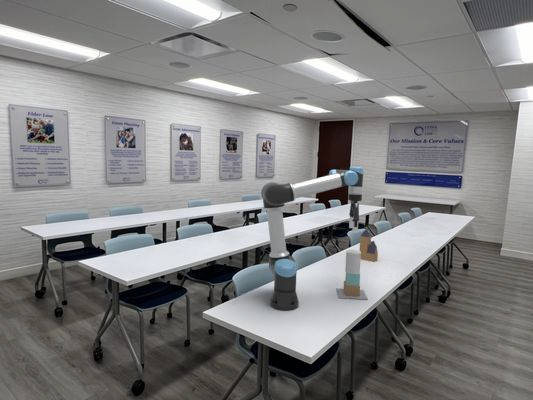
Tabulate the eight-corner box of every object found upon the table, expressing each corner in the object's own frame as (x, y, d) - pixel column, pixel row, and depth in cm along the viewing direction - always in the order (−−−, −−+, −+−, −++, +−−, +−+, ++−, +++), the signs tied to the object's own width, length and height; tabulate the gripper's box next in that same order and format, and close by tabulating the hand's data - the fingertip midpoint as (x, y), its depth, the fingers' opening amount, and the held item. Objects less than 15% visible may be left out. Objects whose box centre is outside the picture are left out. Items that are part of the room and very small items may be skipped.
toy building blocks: (359, 258, 271) (360, 228, 269) (369, 254, 285) (371, 225, 282) (373, 262, 263) (375, 230, 260) (384, 257, 277) (385, 227, 274)
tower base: (338, 298, 192) (339, 287, 191) (336, 289, 206) (336, 278, 205) (367, 300, 190) (368, 288, 189) (363, 290, 204) (363, 280, 203)
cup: (349, 268, 202) (350, 249, 201) (362, 271, 197) (363, 251, 196) (342, 271, 196) (343, 251, 194) (356, 275, 191) (357, 254, 189)
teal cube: (347, 285, 194) (347, 273, 193) (345, 281, 201) (345, 269, 200) (359, 286, 193) (360, 274, 193) (357, 281, 200) (358, 270, 199)
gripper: (365, 196, 182) (363, 235, 184) (358, 192, 207) (356, 226, 209) (351, 195, 183) (349, 234, 185) (345, 191, 207) (344, 225, 210)
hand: (353, 230), depth 197 cm, fingers open, 13 cm apart
